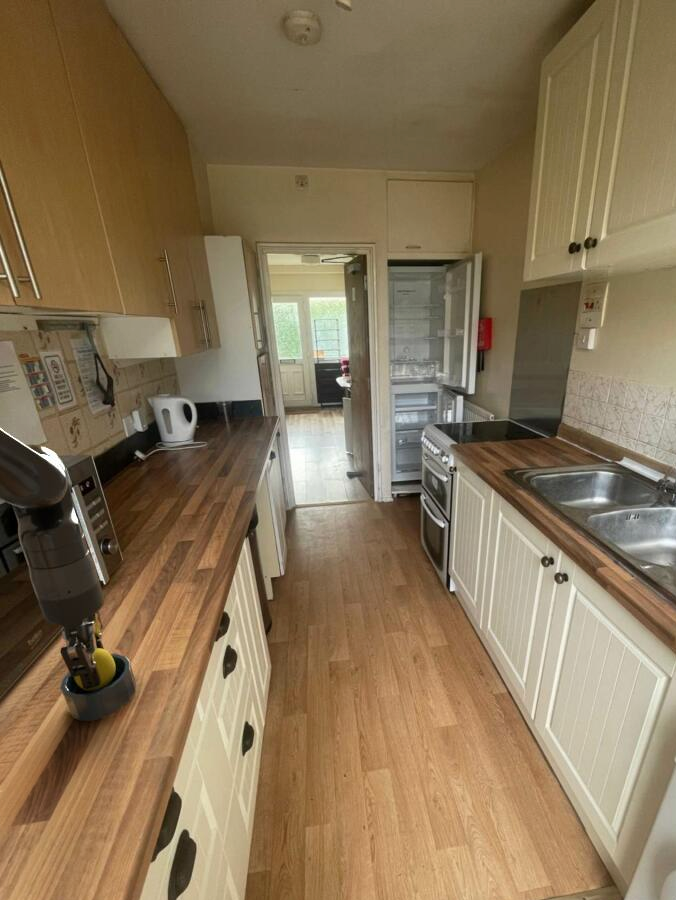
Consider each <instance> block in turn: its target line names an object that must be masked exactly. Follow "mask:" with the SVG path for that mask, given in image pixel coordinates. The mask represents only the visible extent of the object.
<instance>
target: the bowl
mask: <svg viewBox="0 0 676 900" xmlns="http://www.w3.org/2000/svg"><path fill="white" fill-rule="evenodd" d="M109 654H110V655H111V656H112V658H113V660H114V662H115V666H116V670H115V676H114V678H113V680H112V681H111V682H110V683H109V684H108V685H107V686H106V687H104V688H103V689H100V690H97V691H87V690H84V689H82V688H81V687H79V686H78V684H77V683H76V681H75V679H74V677H72V676H71V674H70V672H67V673H66V675H65V676H64V677H63V678H62V680H61V684H60V688H59V689H60V691H61V693H62V697H63V699H64V701H65V705H66V708H67V710H68V713H69V714H70V716H71V718H73V719H75V720H78V721H80V722H87V721H88V722H89V721H91V722H92V721H96V720H97V721H98V720H100V719H105V718H106V717H109V716H112V715H113V714H115V713H117V712H119V711H120V710H122V708H123V707H125V706H126V705H127V704H128V703H129V702H130V701H131V700H132V698H133V697H134V695H135V693H136V691H137V682H136V679H135V675H134V672H133V668H132V665H131V662H130V660H129V659H128V657H127V656H126V655H122V654H119V653H109Z"/></svg>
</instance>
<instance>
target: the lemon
mask: <svg viewBox="0 0 676 900" xmlns="http://www.w3.org/2000/svg"><path fill="white" fill-rule="evenodd" d="M110 654H111V653H109V651H107V650H106V649H105V648H104V649H101V648H97V649H96V651H95V652H94V657H95V662H96V667H97V670H98V673H99V676H100V679H101V682H100V685H99V686H96V687H92V688H89V689H85V688H83V685H82V682H81V679H80V676H76V677H74V679H75V681H76V683H77V684H78V686H79V687H81V688H82V689H84V690H87V691H97V690H100V689H103V688H104V687H106V686H107V685H108V684H109V683H110V682H111V681H112V680H113V678H114V676H115V670H116V666H115V662H114V660H113V658H112V656H111V655H110Z"/></svg>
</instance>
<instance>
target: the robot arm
mask: <svg viewBox="0 0 676 900" xmlns="http://www.w3.org/2000/svg"><path fill="white" fill-rule="evenodd" d="M67 471H68V470H67V468H66V465H65V463H64V461H63V460H62V458H61V457H60V456H59V455H58V454H57V453H56V452H54V451H53V450H51V449H49V448H48V447H45V446H42V445H37V444H24V443H23V442H21V441H20V440H19V439H17V438H15V437H13V436H12V435H10V434H9V433H7V432H6V431H4V430H3V429H2V428H1V427H0V500H2V501H3V502H6V503H8V504H10V505H12V508H13V511H14V514H15V517H16V520H17V525H18V526H17V533H18V540H19V543H20V547H21V549H22V552H23V555H24V559H25V560H26V563H27V567H28V572H29V578H30V582H31V585H32V588H33V591H34V593H35V597H36V599H37V602H38V604H39V608H40V610H41V613H42V616H43V618H44V620H45V621H46V622H47V623H50V624H52V625H59V626H60V627H61V626H62V628H61V635H62V640H63V641H65V646H62V647H61V648H60V652H59V653H60V655H61V657H62V659H63V661H64V664H65V665H66V668H67V670H68V671H69V672H70V674H71V676H72V677H76V676H80V679H81V682H82V685H83V688H85V689H89V688H92V687H96V686H99V685H100V682H101V679H100V676H99V673H98V670H97V667H96V662H95V657H94V652H95V651H96V649H97V648H101V649H104V650H105V648H104V644H103V642H102V641H103V640H102V639H103V638H102V637H103V633H102V630H103V626H104V625H103V623H102V619H101V613H100V610H101V609H102V608H103V606H104V604H105V596H104V592H103V590H102V589H103V588H102V586H101V583H100V579H99V575H98V572H97V568H96V565H95V562H94V560H93V557H92V555H91V553H90V551H89V548H88V544H87V539H86V536H85V533H84V531H83V528H82V525H81V523H80V520H79V518H78V516H77V513H76V509H75V504H74V500H73V495H72V490H71V489H72V488H71V486H70V481H69V476H68V472H67ZM69 672H68V673H69Z"/></svg>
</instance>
